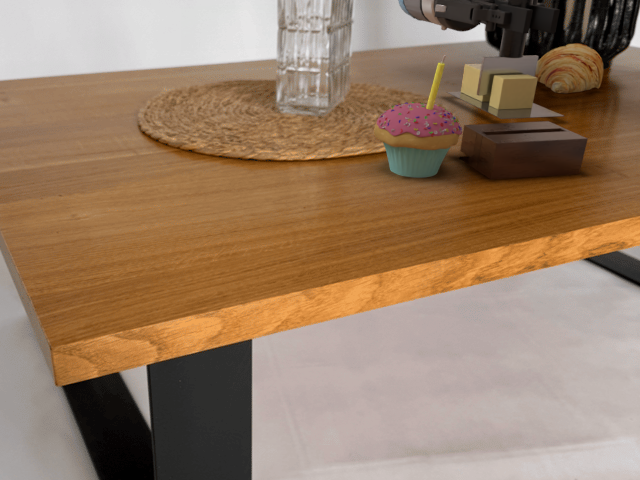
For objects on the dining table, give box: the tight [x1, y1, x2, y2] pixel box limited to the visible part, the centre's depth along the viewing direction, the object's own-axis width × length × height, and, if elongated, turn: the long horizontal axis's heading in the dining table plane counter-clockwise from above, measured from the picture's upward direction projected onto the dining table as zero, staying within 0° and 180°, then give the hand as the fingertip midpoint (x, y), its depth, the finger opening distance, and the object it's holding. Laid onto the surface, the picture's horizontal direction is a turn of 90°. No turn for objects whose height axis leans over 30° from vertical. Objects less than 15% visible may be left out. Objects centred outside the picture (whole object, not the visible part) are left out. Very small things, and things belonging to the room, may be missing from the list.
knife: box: [477, 0, 540, 96], centre depth 91 cm, size 8×3×14 cm, turn 101°
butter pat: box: [489, 74, 538, 110], centre depth 92 cm, size 2×5×4 cm, turn 101°
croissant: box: [535, 42, 605, 94], centre depth 109 cm, size 21×10×8 cm, turn 154°
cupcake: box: [373, 54, 463, 179], centre depth 69 cm, size 9×8×12 cm
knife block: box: [458, 120, 589, 180], centre depth 72 cm, size 10×7×4 cm
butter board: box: [446, 63, 565, 120], centre depth 94 cm, size 16×9×5 cm, turn 11°
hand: (541, 21), depth 85 cm, fingers closed on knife, 3 cm apart
